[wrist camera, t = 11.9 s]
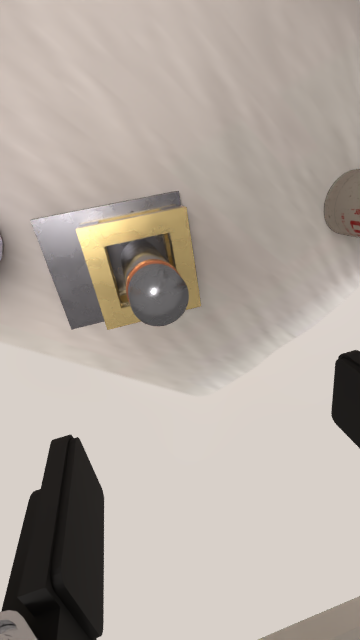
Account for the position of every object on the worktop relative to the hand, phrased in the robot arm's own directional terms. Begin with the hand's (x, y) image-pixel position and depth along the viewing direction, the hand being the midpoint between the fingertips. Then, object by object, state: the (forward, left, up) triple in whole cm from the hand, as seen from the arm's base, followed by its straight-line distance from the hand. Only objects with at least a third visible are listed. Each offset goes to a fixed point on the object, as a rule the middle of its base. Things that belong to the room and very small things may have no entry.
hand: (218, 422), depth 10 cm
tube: (0, 0, -27) cm, 27 cm away
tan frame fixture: (+2, 0, -28) cm, 28 cm away
